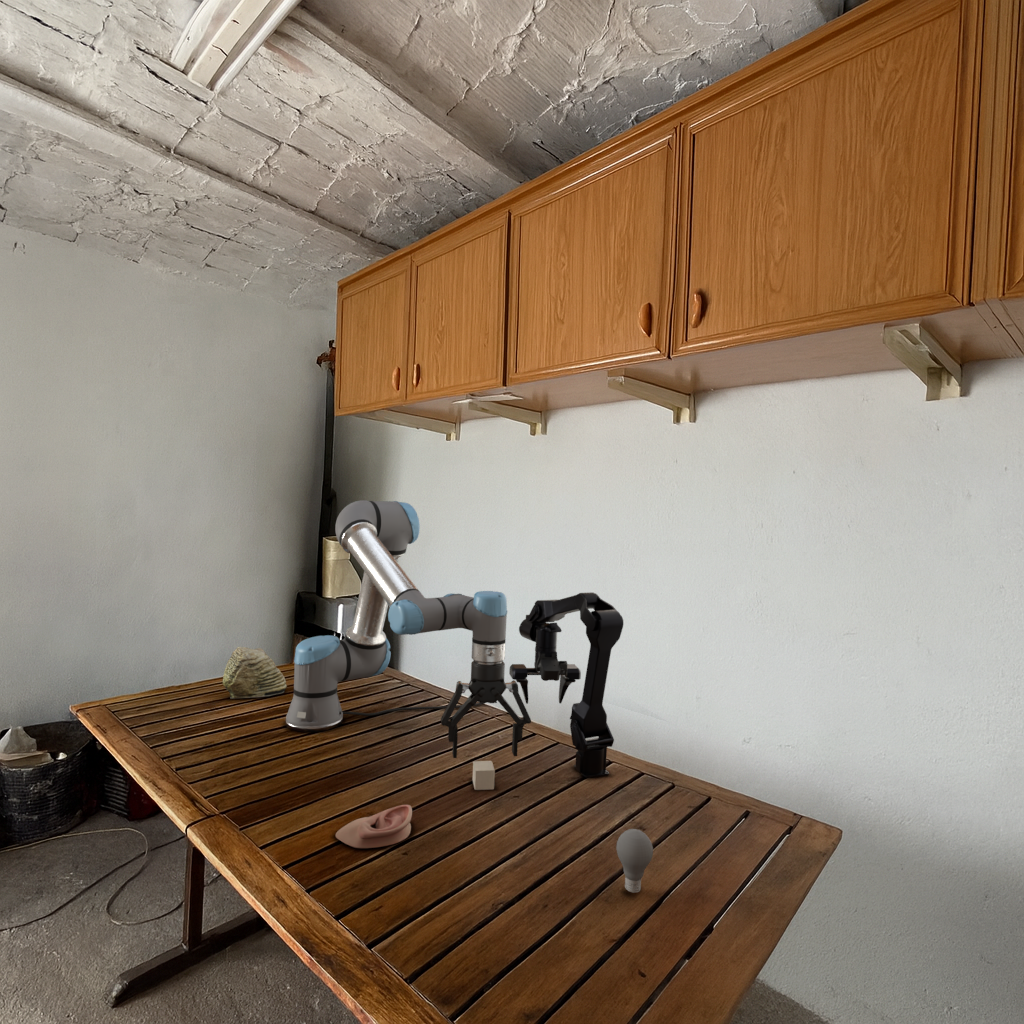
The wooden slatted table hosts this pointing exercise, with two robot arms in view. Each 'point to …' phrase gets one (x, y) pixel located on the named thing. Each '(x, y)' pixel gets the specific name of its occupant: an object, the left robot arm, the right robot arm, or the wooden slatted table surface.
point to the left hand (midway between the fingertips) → (484, 755)
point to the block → (483, 775)
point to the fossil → (252, 674)
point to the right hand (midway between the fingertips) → (543, 703)
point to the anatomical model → (378, 828)
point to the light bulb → (634, 857)
